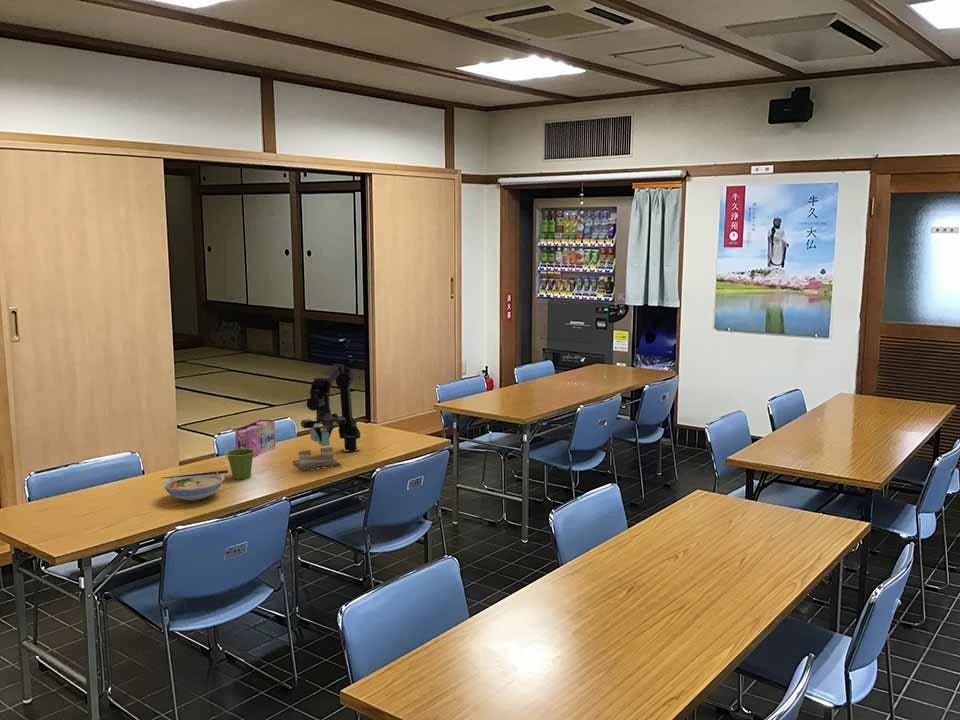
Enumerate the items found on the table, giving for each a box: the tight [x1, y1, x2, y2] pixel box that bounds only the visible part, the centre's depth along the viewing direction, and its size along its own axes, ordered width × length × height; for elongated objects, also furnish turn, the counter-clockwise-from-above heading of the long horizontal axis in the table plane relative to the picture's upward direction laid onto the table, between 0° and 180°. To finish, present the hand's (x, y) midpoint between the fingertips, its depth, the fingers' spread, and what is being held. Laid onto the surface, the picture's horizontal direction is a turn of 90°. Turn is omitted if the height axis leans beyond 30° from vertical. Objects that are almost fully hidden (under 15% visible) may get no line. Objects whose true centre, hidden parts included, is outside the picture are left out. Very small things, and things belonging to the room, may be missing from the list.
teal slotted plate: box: [309, 427, 331, 447], centre depth 358 cm, size 18×3×6 cm, turn 29°
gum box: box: [234, 419, 277, 458], centre depth 381 cm, size 24×8×14 cm, turn 164°
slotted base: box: [292, 446, 341, 472], centre depth 359 cm, size 16×17×7 cm
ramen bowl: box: [160, 469, 229, 502], centre depth 312 cm, size 25×23×8 cm
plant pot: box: [225, 448, 255, 481], centre depth 340 cm, size 12×12×11 cm
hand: (324, 441), depth 353 cm, fingers closed on teal slotted plate, 3 cm apart
